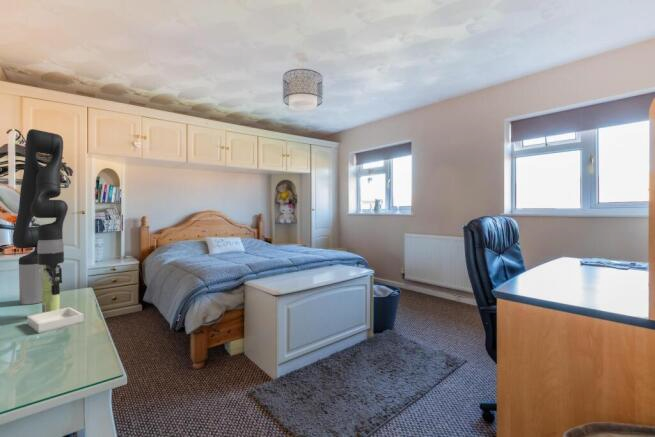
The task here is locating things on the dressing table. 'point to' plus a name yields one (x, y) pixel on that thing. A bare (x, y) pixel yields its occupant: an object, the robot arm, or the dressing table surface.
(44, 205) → the robot arm
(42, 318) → the tray
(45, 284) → the tube
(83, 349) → the dressing table surface
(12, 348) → the dressing table surface
